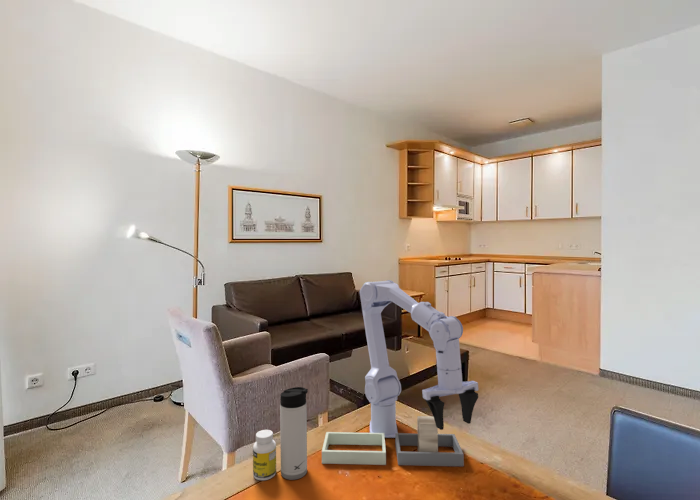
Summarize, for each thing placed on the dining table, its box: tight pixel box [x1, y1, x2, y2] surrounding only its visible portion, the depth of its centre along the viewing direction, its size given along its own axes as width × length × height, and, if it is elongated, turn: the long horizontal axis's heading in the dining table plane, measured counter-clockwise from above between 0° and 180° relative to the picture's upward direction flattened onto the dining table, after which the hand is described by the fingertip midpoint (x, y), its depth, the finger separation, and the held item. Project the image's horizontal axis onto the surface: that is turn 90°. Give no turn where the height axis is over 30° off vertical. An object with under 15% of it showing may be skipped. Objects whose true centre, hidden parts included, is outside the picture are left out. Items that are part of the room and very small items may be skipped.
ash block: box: [416, 415, 439, 452], centre depth 96 cm, size 4×4×9 cm
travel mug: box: [279, 386, 309, 481], centre depth 89 cm, size 6×7×20 cm
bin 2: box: [395, 432, 465, 467], centre depth 96 cm, size 10×16×3 cm, turn 87°
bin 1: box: [321, 431, 387, 466], centre depth 97 cm, size 10×16×3 cm, turn 87°
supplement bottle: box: [252, 429, 277, 481], centre depth 88 cm, size 5×5×10 cm
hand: (453, 425), depth 89 cm, fingers open, 7 cm apart
